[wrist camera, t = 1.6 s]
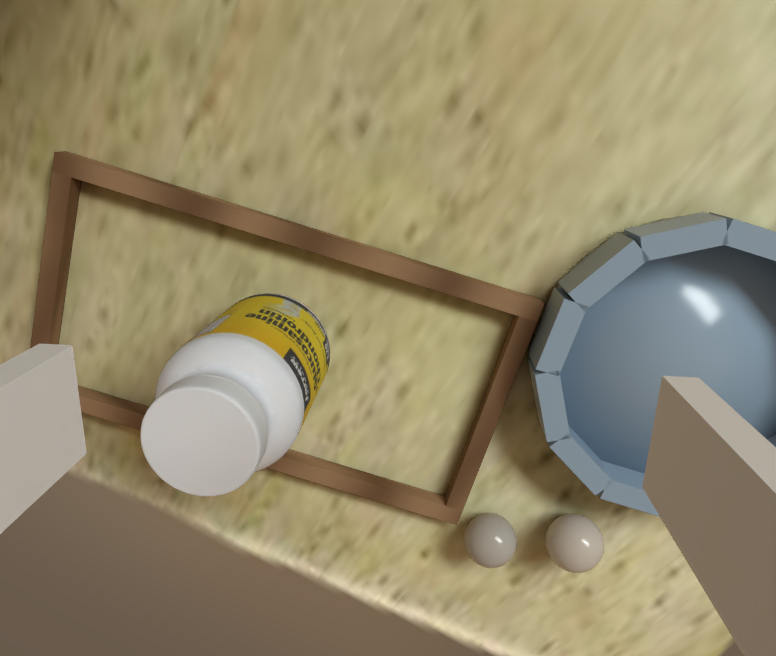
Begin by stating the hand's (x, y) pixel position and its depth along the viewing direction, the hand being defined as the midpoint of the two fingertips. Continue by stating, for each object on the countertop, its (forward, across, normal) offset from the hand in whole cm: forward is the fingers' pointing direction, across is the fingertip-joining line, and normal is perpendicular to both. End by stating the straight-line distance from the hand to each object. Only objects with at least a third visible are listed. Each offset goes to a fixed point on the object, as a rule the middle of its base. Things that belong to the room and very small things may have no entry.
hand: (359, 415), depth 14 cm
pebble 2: (+19, +11, -16) cm, 27 cm away
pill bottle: (+20, -7, -6) cm, 21 cm away
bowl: (+19, +15, -5) cm, 25 cm away
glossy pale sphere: (+19, +6, -16) cm, 26 cm away
